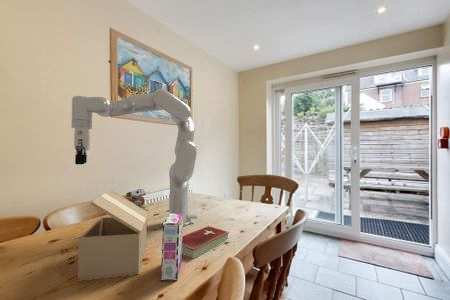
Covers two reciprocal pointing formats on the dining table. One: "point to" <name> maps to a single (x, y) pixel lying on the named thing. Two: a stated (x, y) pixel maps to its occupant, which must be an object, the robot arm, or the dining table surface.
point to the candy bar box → (172, 246)
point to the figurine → (136, 197)
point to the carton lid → (121, 210)
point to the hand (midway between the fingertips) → (81, 163)
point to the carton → (110, 250)
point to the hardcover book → (202, 240)
